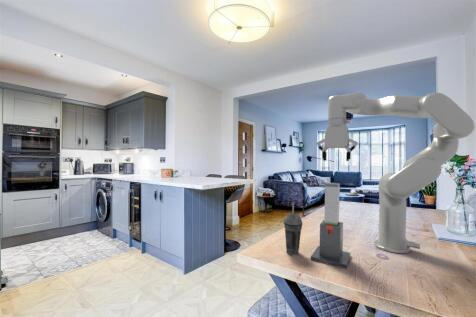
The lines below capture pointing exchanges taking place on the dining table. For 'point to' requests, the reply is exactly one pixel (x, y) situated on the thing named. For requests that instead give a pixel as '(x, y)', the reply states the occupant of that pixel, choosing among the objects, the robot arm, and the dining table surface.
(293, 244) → the beverage cup
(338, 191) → the column
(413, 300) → the dining table surface
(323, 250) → the stand
